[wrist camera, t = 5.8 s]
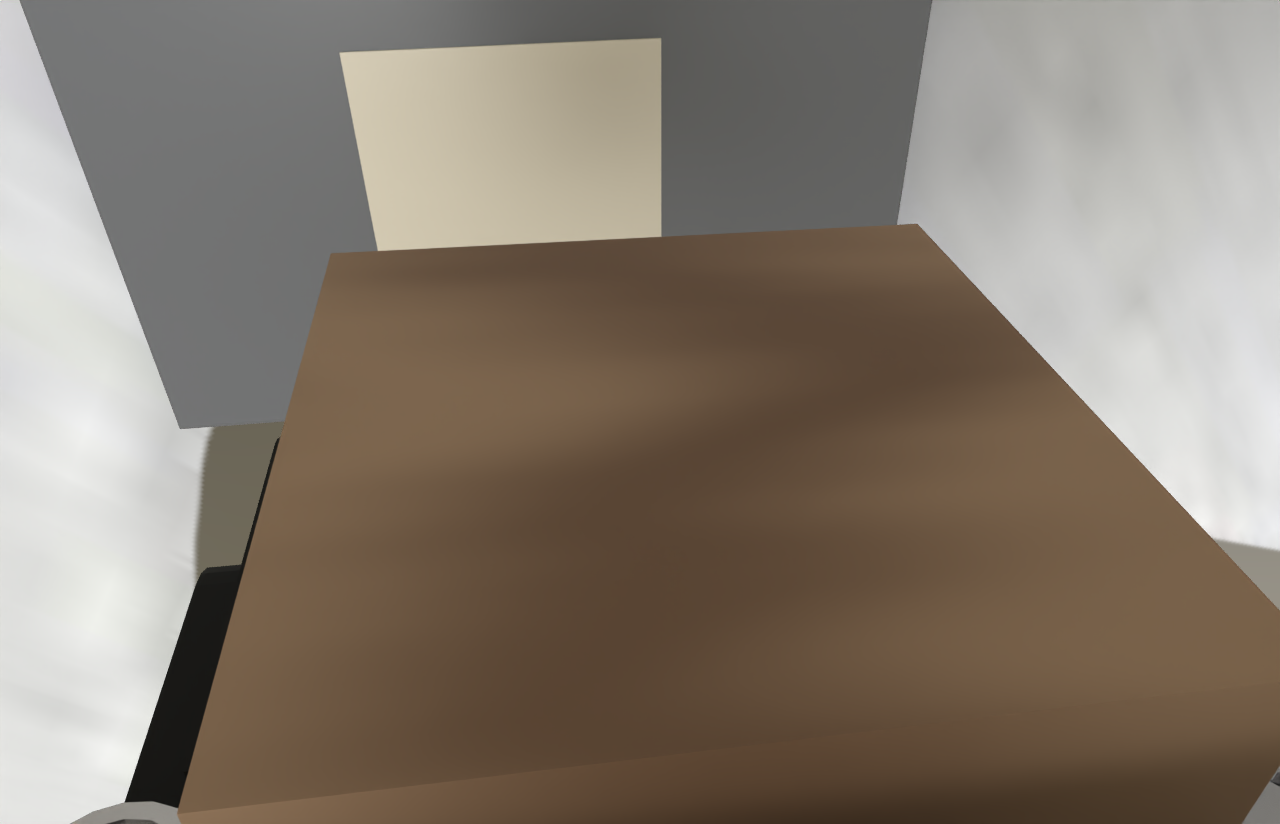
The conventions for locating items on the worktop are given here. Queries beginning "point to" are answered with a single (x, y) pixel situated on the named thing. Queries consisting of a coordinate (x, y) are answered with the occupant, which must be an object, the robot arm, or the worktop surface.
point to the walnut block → (718, 559)
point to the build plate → (450, 143)
